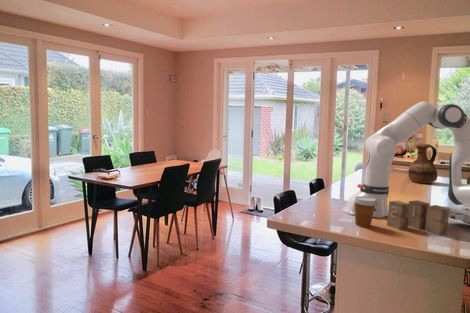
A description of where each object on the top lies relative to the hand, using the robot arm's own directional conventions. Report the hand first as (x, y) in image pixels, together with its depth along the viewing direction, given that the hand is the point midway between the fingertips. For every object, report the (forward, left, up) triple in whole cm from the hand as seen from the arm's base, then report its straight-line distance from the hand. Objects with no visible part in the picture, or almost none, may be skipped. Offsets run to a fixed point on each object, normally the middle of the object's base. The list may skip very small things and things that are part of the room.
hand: (452, 217), depth 165 cm
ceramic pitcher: (+54, +122, -6) cm, 133 cm away
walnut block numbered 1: (-15, +3, -6) cm, 16 cm away
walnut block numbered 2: (-24, +1, -6) cm, 25 cm away
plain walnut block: (-10, -5, -6) cm, 13 cm away
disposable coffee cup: (-39, +2, -6) cm, 40 cm away
